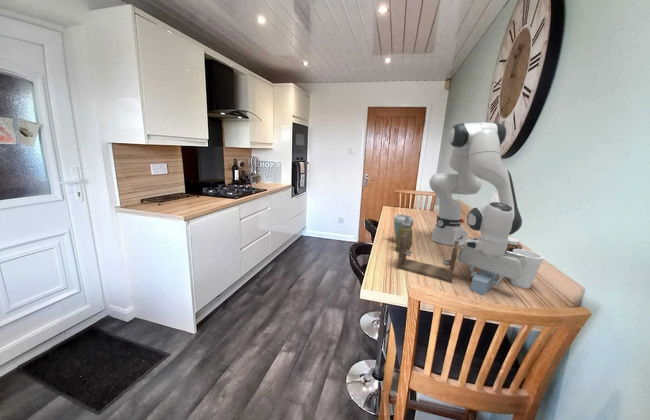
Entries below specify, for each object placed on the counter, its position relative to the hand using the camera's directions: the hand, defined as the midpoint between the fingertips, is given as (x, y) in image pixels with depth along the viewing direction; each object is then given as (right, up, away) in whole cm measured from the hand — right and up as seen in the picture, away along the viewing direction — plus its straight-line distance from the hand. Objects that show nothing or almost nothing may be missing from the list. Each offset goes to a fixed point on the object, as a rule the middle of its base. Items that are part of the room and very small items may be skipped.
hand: (484, 280), depth 96 cm
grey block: (0, -2, 0) cm, 2 cm away
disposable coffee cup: (-19, +9, +43) cm, 48 cm away
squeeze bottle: (-22, +6, +31) cm, 39 cm away
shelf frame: (-19, +1, +10) cm, 21 cm away
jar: (+16, 0, +15) cm, 22 cm away
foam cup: (+16, -3, +3) cm, 17 cm away
